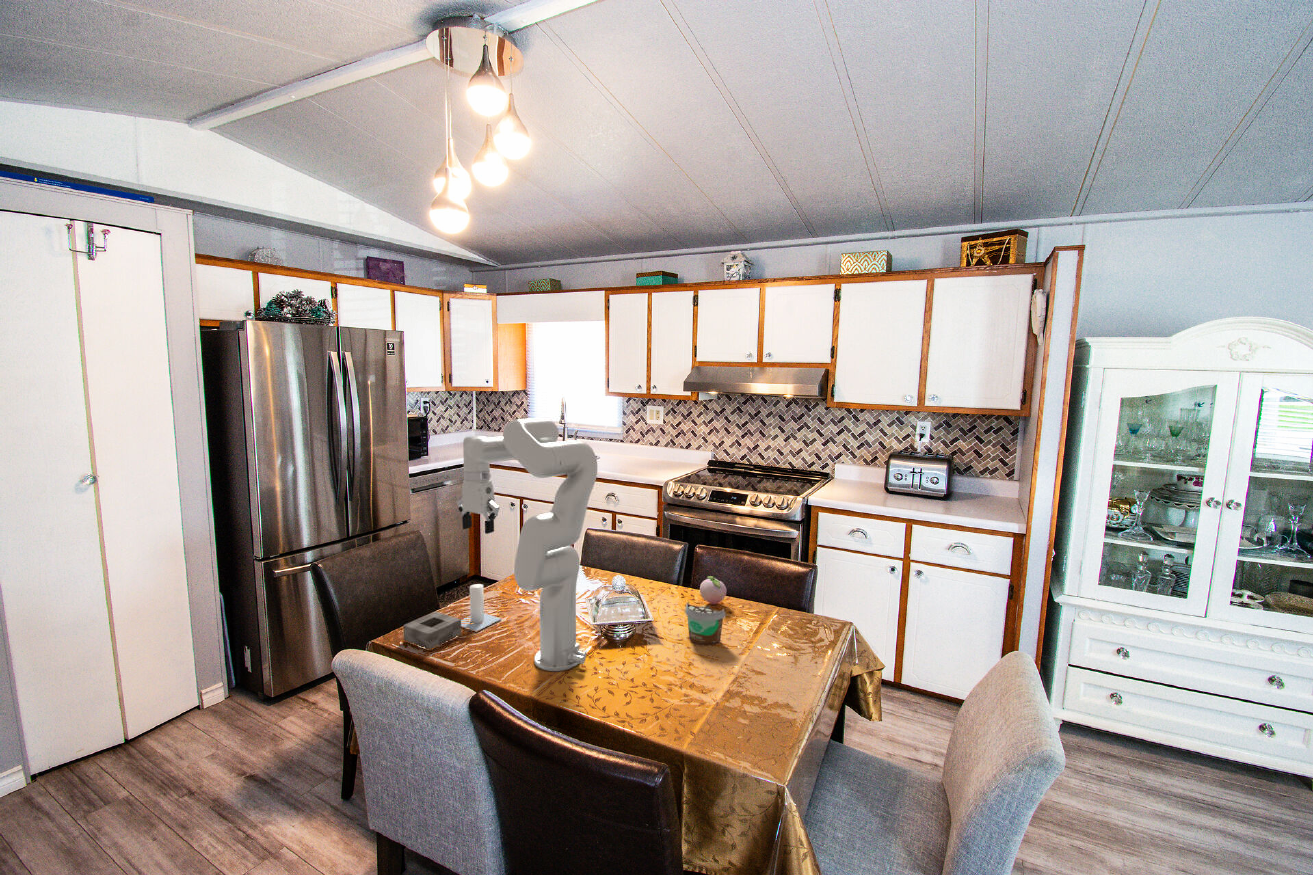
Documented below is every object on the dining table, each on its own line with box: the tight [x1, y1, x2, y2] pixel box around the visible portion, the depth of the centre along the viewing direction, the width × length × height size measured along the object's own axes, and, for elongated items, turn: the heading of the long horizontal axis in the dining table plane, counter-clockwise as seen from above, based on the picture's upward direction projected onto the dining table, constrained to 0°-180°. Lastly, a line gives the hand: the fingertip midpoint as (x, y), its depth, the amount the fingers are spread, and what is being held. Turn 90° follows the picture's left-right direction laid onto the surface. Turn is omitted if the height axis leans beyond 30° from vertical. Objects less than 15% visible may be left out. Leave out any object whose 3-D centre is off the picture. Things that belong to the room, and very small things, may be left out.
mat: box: [461, 612, 502, 632], centre depth 171 cm, size 10×10×1 cm
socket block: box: [402, 611, 462, 649], centre depth 161 cm, size 11×11×5 cm
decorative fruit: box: [699, 575, 727, 605], centre depth 186 cm, size 9×8×10 cm
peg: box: [469, 583, 485, 624], centre depth 171 cm, size 4×4×11 cm
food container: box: [684, 600, 726, 647], centre depth 160 cm, size 12×6×10 cm, turn 62°
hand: (478, 530), depth 172 cm, fingers open, 9 cm apart
